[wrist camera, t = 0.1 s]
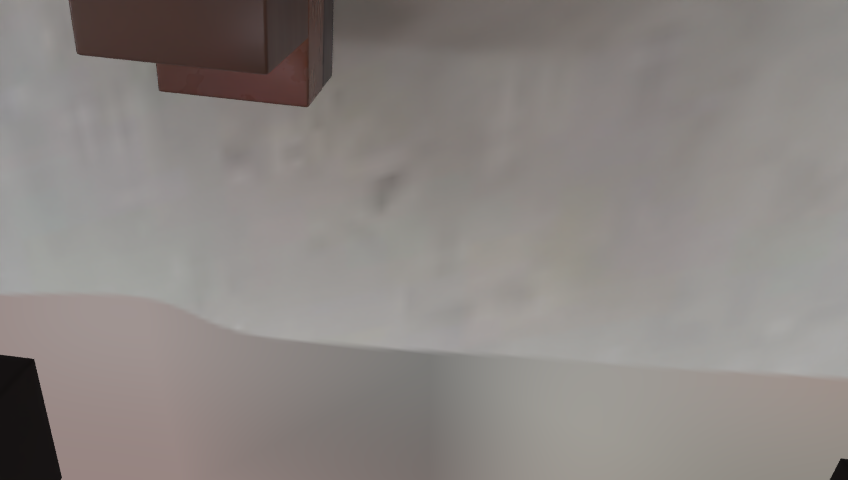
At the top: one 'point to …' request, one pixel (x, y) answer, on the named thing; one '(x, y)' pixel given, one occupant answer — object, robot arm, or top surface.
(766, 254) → the top surface
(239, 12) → the brown stepped block
